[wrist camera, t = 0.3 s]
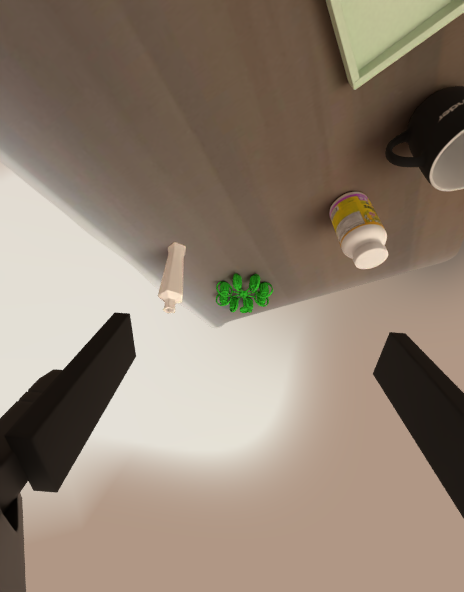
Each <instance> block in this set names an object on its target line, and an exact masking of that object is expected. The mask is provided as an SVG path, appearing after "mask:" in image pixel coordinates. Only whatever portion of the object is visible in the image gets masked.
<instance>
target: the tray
mask: <svg viewBox="0 0 464 592" xmlns="http://www.w3.org/2000/svg"><path fill="white" fill-rule="evenodd" d="M326 4H327V8H328V11H329V15H330V18H331V22H332V25H333V29H334V32H335V36H336V40H337V43H338V47H339V50H340V54H341V57H342V61H343V64H344V68H345V71H346V75H347V79H348V82H349V84H350V85H351V86H352V88H353V89H354V90H356V89H357V88H358V87H360V86H361V85H363V84H364V83H365V82H367V81H368V80H370V79H371V78H372V77H374V76H375V75H377V74H378V73H379V72H381V71H382V70H384V69H385V68H386V67H388V66H389V65H391V64H392V63H393V62H395V61H396V60H398V59H399V58H400V57H402V56H403V55H405V54H406V53H407V52H409V51H410V50H412V49H413V48H414V47H416V46H417V45H419V44H420V43H421V42H423V41H424V40H426V39H427V38H428V37H430V36H431V35H433V34H434V33H435V32H437V31H438V30H440V29H441V28H442V27H444V26H445V25H447V24H448V23H449V22H451V21H452V20H454V19H455V18H457V17H458V16H459V15H461V14H462V13H464V0H326Z"/></svg>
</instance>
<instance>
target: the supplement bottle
mask: <svg viewBox="0 0 464 592" xmlns="http://www.w3.org/2000/svg"><path fill="white" fill-rule="evenodd" d="M329 214H330V218H331V221H332V224H333V227H334V229H335V232H336V235H337V237H338V240H339V243H340V246H341V248H342V251H343V253H344V254H345V255H346V256H347V257H349V258H353V262H354V264H355V266H356V267H357V268H360V269H370V268H373V267H376V266H378V265H380V264H381V263H383V262H384V261H385V260H386V258H387V257H388V251H387V249H386V247H385V246H384V245H385V243H386V240H387V234H386V231H385V229H384V227H383V225H382V224H381V222H380V220H379V218H378V216H377V214H376V212H375V210H374V208H373V206H372V205H371V203H370V201H369V199H368V197H367V196H366V195H365V194H363V193H361V192H350V193H346V194H344V195H342V196H341V197H339V198H338V199H337V200H336V201H335V202H334V203H333V204H332V206H331V208H330V213H329Z"/></svg>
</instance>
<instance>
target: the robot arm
mask: <svg viewBox="0 0 464 592" xmlns="http://www.w3.org/2000/svg"><path fill="white" fill-rule="evenodd" d="M135 357H136V353H135V347H134V340H133V333H132V326H131V319H130V314H127V313H114V314H113V315H112V316H111V318H110V319H109V320H108V321H107V322H106V323H105V324H104V325H103V326H102V328H101V329H100V330H99V331H98V332H97V333H96V334H95V335H94V336H93V337H92V339H91V340H90V341H89V342H88V343H87V344H86V345H85V346H84V347H83V348H82V350H81V351H80V352H79V353H78V354H77V355H76V356H75V357H74V359H73V360H72V361H71V362H70V363H69V364H68V365H67V366H66V367H65V368H64V369H63V370H52V371H50V372H49V373H47V374H46V375H44V376H43V377H41V378H39V379H38V380H37V381H36V383H34V384H33V386H32V387H31V388H30V389H29V390H28V392H26V393H25V394H24V395H23V396H22V397H21V398H20V399H19V401H18V402H16V403H15V404H14V405H13V406H12V407H11V408H10V409H9V410H8V411H7V412H6V413H5V414H4V415H3V416H2V417H1V418H0V592H26V584H25V560H24V535H23V510H22V497H21V494H20V492H21V490H22V489H23V487H24V486H25V484H26V483H27V481H29V483H30V484H31V486H32V488H33V490H34V491H46V492H58V490H59V488H60V487H61V485H62V483H63V481H64V479H65V478H66V476H67V475H68V473H69V471H70V469H71V467H72V466H73V464H74V462H75V461H76V459H77V457H78V455H79V454H80V452H81V450H82V449H83V447H84V445H85V443H86V442H87V440H88V438H89V436H90V435H91V433H92V431H93V430H94V428H95V426H96V424H97V423H98V421H99V419H100V417H101V415H102V414H103V412H104V411H105V409H106V407H107V405H108V404H109V402H110V400H111V399H112V397H113V395H114V393H115V392H116V390H117V388H118V386H119V385H120V383H121V381H122V380H123V378H124V376H125V374H126V373H127V371H128V369H129V367H130V366H131V364H132V362H133V360H134V359H135ZM373 375H374V376H375V378H376V380H377V381H378V383H379V384H380V386H381V387H382V389H383V391H384V392H385V394H386V396H387V397H388V399H389V400H390V402H391V403H392V405H393V407H394V408H395V410H396V411H397V413H398V415H399V416H400V418H401V419H402V421H403V423H404V424H405V426H406V427H407V429H408V430H409V432H410V434H411V435H412V437H413V438H414V440H415V442H416V443H417V445H418V446H419V448H420V450H421V451H422V453H423V454H424V456H425V458H426V459H427V461H428V462H429V464H430V465H431V467H432V469H433V470H434V472H435V474H436V475H437V477H438V478H439V480H440V481H441V483H442V485H443V486H444V488H445V489H446V491H447V493H448V494H449V496H450V497H451V499H452V501H453V502H454V504H455V505H456V507H457V509H458V510H459V512H460V513H461V515H462V517H463V518H464V393H463V392H462V391H461V390H460V389H459V388H458V387H457V386H456V385H455V384H454V383H453V382H452V381H451V380H450V379H449V378H448V377H447V376H446V375H445V374H444V373H443V372H442V371H441V370H440V369H439V368H438V367H437V366H436V365H435V364H434V362H433V361H432V360H431V359H429V357H428V356H427V355H426V354H425V353H424V352H423V351H422V350H421V349H420V348H419V347H418V346H417V345H416V344H415V343H414V342H413V341H412V340H411V339H410V338H409V337H408V336H407V335H406V334H404V333H392V332H391V333H389V336H388V338H387V341H386V343H385V346H384V348H383V350H382V353H381V355H380V358H379V360H378V362H377V365H376V367H375V370H374V372H373Z"/></svg>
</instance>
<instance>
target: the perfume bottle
mask: <svg viewBox="0 0 464 592" xmlns="http://www.w3.org/2000/svg"><path fill="white" fill-rule="evenodd" d="M185 251H186V246H184V245H181V244H179V243H176V242H174V243H173V244H172V245H170V246H169V247H168V253H169V254H168V258H167V262H166V266H165V270H164V274H163V278H162V282H161V286H160V290H159V294H158V297H159V298H160V299H162V300H163V301H164V302H165V306H164V309H163V310H164V311H165V312H166V313H175V303H181V302H182V296H183V260H184V255H185Z"/></svg>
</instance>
